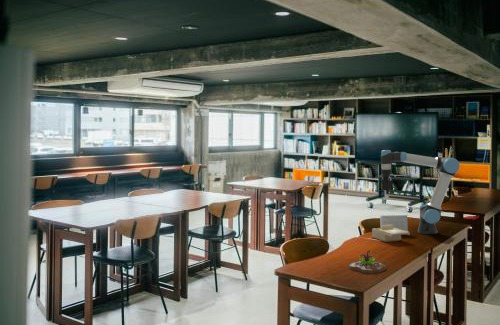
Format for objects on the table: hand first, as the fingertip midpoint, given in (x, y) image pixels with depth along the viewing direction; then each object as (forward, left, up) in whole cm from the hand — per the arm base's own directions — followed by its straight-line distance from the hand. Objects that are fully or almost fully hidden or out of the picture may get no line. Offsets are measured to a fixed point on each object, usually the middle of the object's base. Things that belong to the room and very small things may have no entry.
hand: (386, 198), depth 368 cm
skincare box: (-8, -2, -31) cm, 32 cm away
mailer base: (+8, +11, -30) cm, 33 cm away
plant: (+66, +78, -31) cm, 106 cm away
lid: (+8, +20, -25) cm, 33 cm away
